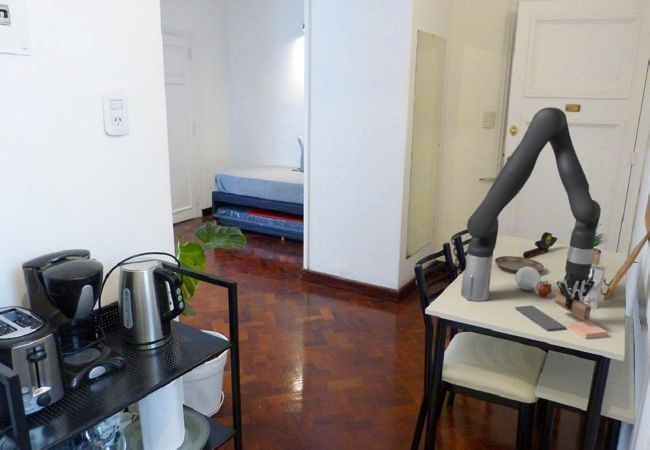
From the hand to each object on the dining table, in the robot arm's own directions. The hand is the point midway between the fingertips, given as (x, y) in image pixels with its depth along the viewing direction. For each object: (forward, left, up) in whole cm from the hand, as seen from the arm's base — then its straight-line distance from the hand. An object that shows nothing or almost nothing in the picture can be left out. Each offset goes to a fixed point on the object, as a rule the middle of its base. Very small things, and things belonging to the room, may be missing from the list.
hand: (571, 307), depth 170 cm
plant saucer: (+15, +52, -6) cm, 54 cm away
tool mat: (-9, +4, -5) cm, 11 cm away
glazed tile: (0, -4, -4) cm, 6 cm away
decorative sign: (+40, +72, -5) cm, 82 cm away
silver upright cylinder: (+17, +11, -5) cm, 21 cm away
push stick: (0, 0, -1) cm, 1 cm away
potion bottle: (+4, +27, -5) cm, 28 cm away
